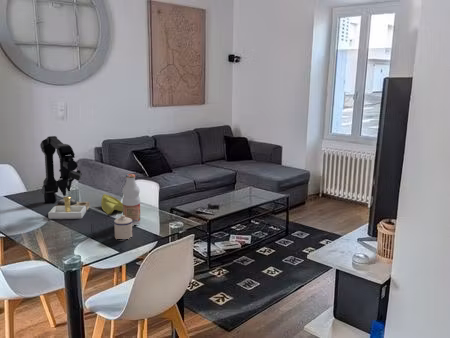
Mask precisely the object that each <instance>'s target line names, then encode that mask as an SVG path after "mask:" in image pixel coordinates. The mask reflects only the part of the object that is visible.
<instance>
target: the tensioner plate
mask: <svg viewBox="0 0 450 338" xmlns="http://www.w3.org/2000/svg"><path fill="white" fill-rule="evenodd" d="M90 204H91V203H90V201H77V200H76V199H73V198H71V199H70V206H86V212H87V211H88V210H89V208H90ZM55 206H65V201H64V199H60V200H57V201H56V205H55Z"/></svg>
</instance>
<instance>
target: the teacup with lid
mask: <svg viewBox="0 0 450 338" xmlns="http://www.w3.org/2000/svg"><path fill="white" fill-rule="evenodd" d="M113 224H114V225H113V226H114V238H115V240H117V239H128V240H130V239H131V238H130V237H132V238H133V226H132V219H131V218H127V217H125V215H123V214H122V215H121V216H120V217H118V218H116V219H114V220H113ZM129 238H130V239H129Z"/></svg>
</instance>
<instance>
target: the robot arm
mask: <svg viewBox="0 0 450 338" xmlns="http://www.w3.org/2000/svg"><path fill="white" fill-rule="evenodd" d="M39 147H40V149H41V152H42V153H43V155H44V166H45V167H44V168H45V178H44V180H43V184H42V186H41V194H43V199H44V201H43V204H55V203H57V202H58V195H57V193H58V192H59V191H60V192H61V194H62V195H63V197H66V196H67V191H68V192H70V191H71V187H72V183H73V181H74V180H75V181H80V180H81V177H82V172H81V171H82V170H80V169H77V168H78V162H76V160H74V159H75V158H76V156H75V155H76V154H75V152H74V150H73V148H72V147H71V145H70V144H67V143H63V142H62V141H61V140H60V139H58V136H56V135H52V136H47V137H46V138H45V139H43V140H42V141H41V142H40V145H39ZM55 153H56V154H57V156H58V159H59V169H58V172H60V175H59V179H57V180H56V178H55V169H54V168H55V167H54V154H55Z"/></svg>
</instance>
